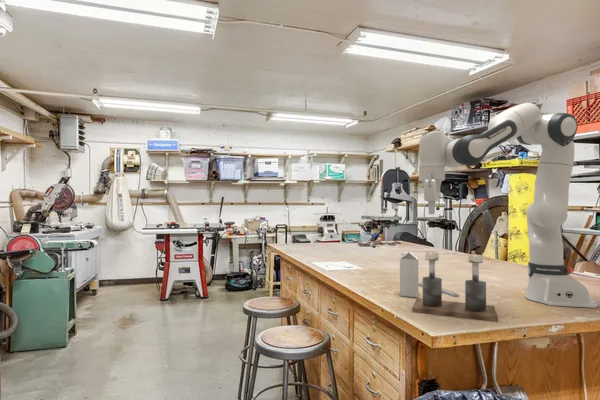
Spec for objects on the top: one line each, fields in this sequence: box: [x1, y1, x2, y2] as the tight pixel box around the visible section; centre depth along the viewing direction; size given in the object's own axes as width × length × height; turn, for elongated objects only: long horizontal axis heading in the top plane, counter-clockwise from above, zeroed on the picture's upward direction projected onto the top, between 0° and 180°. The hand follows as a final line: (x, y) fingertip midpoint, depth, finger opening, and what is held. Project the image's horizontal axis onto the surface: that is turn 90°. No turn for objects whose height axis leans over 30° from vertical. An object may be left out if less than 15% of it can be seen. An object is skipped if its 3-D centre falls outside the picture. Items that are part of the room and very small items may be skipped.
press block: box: [411, 276, 499, 323], centre depth 126 cm, size 26×14×11 cm, turn 66°
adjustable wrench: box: [418, 280, 460, 298], centre depth 157 cm, size 25×6×2 cm, turn 11°
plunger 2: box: [467, 253, 484, 282], centre depth 123 cm, size 4×4×9 cm
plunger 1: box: [424, 251, 440, 278], centre depth 129 cm, size 4×4×9 cm
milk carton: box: [399, 247, 420, 298], centre depth 148 cm, size 7×7×19 cm
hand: (431, 214), depth 129 cm, fingers closed
